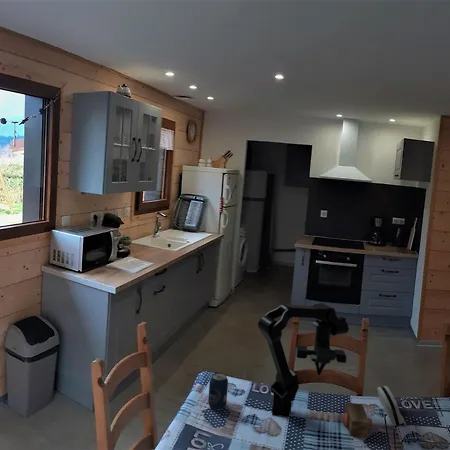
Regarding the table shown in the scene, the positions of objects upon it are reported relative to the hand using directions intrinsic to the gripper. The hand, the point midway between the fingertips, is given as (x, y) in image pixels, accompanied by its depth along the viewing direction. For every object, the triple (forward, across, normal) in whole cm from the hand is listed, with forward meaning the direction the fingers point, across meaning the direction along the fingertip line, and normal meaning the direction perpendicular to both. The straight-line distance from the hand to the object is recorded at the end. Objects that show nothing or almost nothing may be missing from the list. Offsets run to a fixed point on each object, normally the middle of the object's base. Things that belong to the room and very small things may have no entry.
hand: (318, 374), depth 173 cm
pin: (+12, +14, -13) cm, 22 cm away
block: (+12, +13, -13) cm, 22 cm away
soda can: (+12, -38, -10) cm, 41 cm away
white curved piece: (+12, +28, -1) cm, 31 cm away
